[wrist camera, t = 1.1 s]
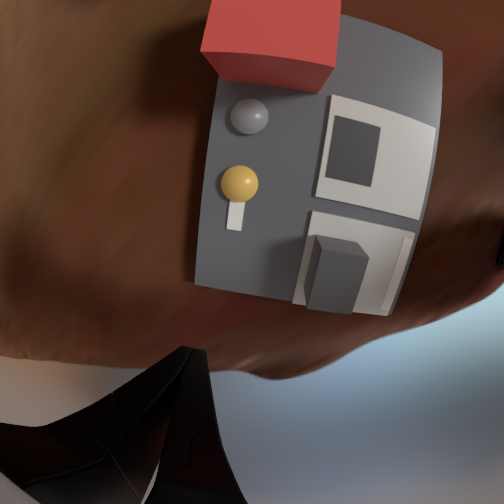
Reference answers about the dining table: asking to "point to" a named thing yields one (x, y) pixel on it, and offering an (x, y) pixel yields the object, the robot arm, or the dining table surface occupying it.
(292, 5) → the cap
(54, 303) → the dining table surface
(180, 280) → the dining table surface
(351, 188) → the panel
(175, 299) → the dining table surface
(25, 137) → the dining table surface
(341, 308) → the gray box
